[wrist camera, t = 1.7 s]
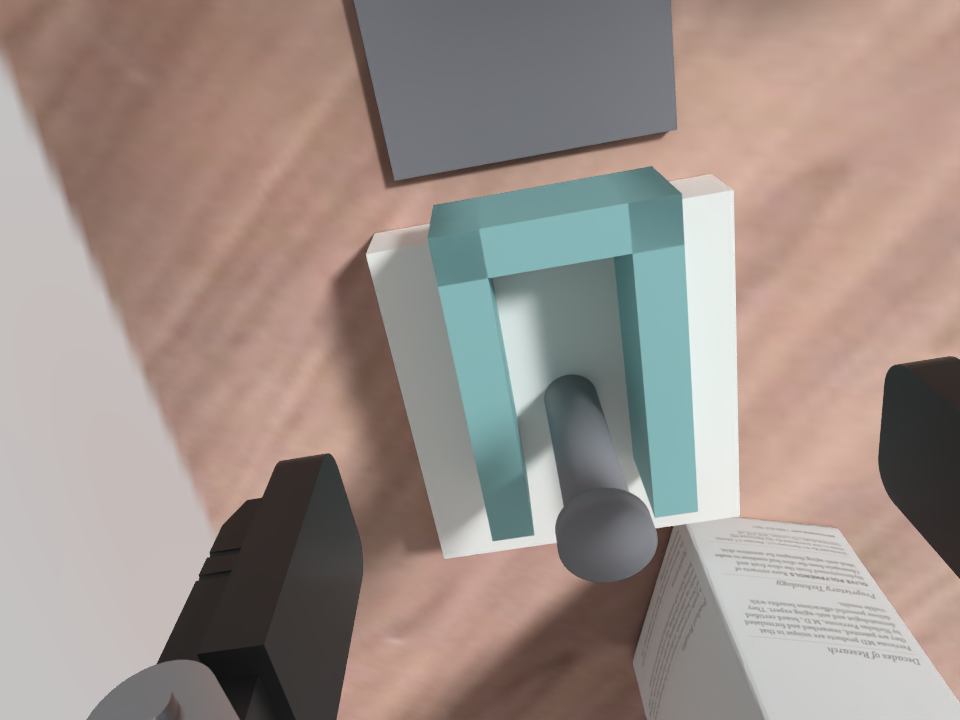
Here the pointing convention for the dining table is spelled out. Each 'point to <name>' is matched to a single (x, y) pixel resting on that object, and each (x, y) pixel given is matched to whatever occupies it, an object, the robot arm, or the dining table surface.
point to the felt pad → (515, 77)
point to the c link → (642, 309)
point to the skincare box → (778, 632)
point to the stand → (568, 393)
